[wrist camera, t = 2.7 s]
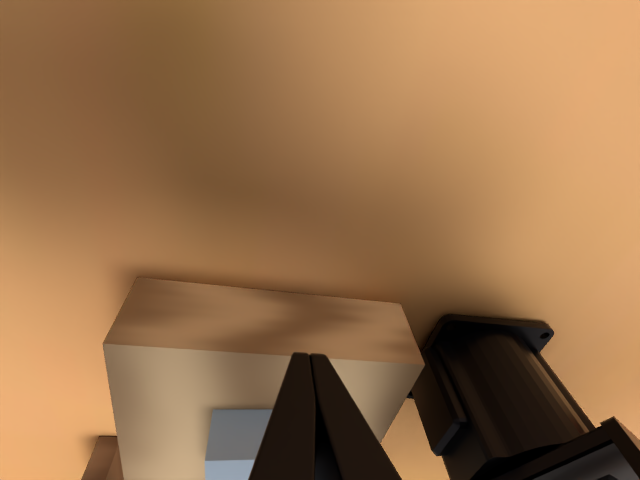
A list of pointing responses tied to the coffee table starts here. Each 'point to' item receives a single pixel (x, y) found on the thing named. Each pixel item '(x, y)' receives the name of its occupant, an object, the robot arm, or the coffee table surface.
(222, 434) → the light blue square block
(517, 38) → the coffee table surface
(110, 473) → the dock bay
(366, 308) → the beige rectangular block
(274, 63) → the coffee table surface
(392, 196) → the coffee table surface
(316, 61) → the coffee table surface
